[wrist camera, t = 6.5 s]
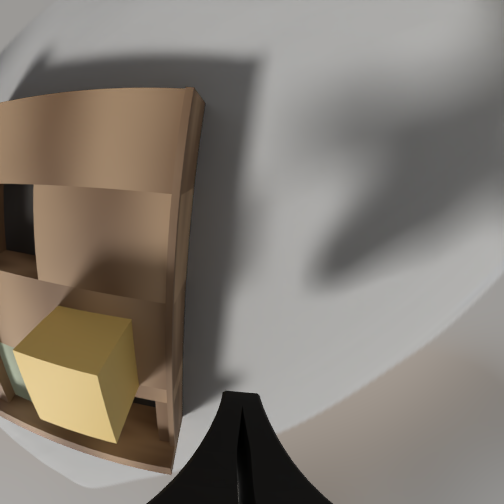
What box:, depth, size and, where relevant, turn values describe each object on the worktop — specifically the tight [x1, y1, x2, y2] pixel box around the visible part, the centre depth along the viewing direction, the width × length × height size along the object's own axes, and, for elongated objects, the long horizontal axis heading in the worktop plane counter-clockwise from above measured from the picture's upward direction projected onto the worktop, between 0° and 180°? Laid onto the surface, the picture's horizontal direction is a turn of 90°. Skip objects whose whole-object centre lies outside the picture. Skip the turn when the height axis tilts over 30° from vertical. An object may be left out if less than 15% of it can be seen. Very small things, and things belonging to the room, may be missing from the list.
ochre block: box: [13, 306, 139, 444], centre depth 11 cm, size 4×4×4 cm
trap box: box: [0, 87, 205, 475], centre depth 13 cm, size 13×19×5 cm
